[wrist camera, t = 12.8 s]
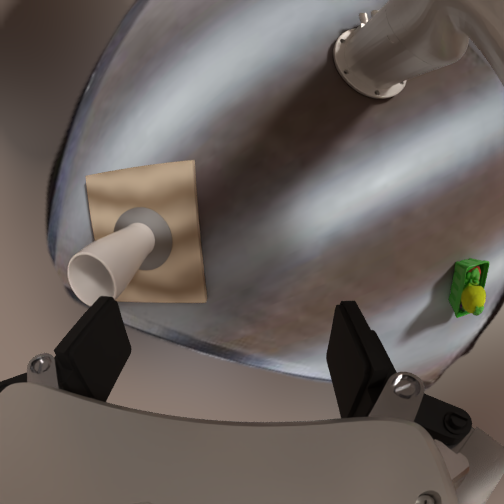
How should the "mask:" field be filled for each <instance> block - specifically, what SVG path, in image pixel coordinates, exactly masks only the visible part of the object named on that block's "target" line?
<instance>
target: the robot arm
mask: <svg viewBox="0 0 504 504" xmlns="http://www.w3.org/2000/svg"><path fill="white" fill-rule="evenodd" d="M371 17H372V18H371V19H370V20H368V15H367V14H366V13H360V14H359V18H360V21H361V24H360V25H359V26H358V28H354V29H350V30H347V31H346V32H344V33H342V34H341V36H340V37H339V38H338V39H337V41H336V42H335V45H334V48H333V58H334V62H335V66H336V68H337V70H338V72H339V74H340V75H341V76H342V78H343V79H344V80H345V81H346V83H347V84H348V85H349V86H351V87H352V88H353V89H354V90H356V91H357V92H359V93H361V94H363V95H365V96H368V97H371V98H375V99H385V98H390V97H393V96H395V95H397V94H398V93H400V92H401V91H402V89H403V88H404V86H405V84H406V81H407V80H408V79H411V78H413V77H416V76H418V75H421V74H424V73H426V72H429V71H432V70H435V69H438V68H440V67H443V66H446V65H449V64H452V63H454V62H456V61H458V60H459V59H460V58H461V57H462V56H463V54H464V53H465V51H466V49H467V46H468V42H469V38H470V39H471V40H472V41H473V43H474V44H475V45H476V46H477V48H478V49H479V50H481V52H482V54H483V55H484V56H485V58H486V59H487V61H488V62H489V64H490V65H491V67H492V68H493V70H494V71H495V73H496V74H497V76H498V78H499V79H500V81H501V83H502V84H503V86H504V0H389V1H388V2H387V3H386V4H385V5H384V6H383V7H382V8H381V9H380V10H379V11H378V10H373V11H371ZM341 42H342V43H341ZM344 72H345V73H346V74H345V73H344ZM375 93H376V94H375ZM54 352H55V354H56V356H55V357H53V356H52V355H51V354H48V353H43V354H39V355H37V356H35V357H33V358H32V359H31V360H30V362H29V364H28V367H27V373H24V374H21V375H18V376H15V377H13V378H10V379H7V380H4V381H2V382H0V504H485V502H486V501H487V499H488V498H489V496H490V495H491V493H492V491H493V490H494V488H495V486H496V485H497V483H498V482H499V480H500V478H501V476H502V474H503V473H504V446H502V445H501V444H500V443H498V442H497V441H496V440H494V439H493V438H492V437H490V436H489V435H487V434H486V433H485V432H484V431H482V430H481V429H480V428H478V427H476V428H475V429H474V428H473V427H472V421H471V418H470V416H469V414H468V413H467V412H466V411H464V410H463V409H461V408H458V407H455V406H453V405H451V404H448V403H445V402H443V401H441V400H438V399H436V398H434V397H431V396H429V395H426V394H424V390H425V387H424V383H423V382H422V380H421V379H420V378H419V377H418V376H416V375H414V374H412V373H409V372H398V373H397V372H396V370H395V368H394V366H393V364H392V362H391V360H390V358H389V357H388V355H387V353H386V351H385V349H384V347H383V345H382V343H381V341H380V339H379V337H378V336H377V334H376V332H375V331H374V330H371V329H370V327H369V326H368V324H367V322H366V320H365V318H364V316H363V314H362V313H361V311H360V309H359V307H358V305H357V303H356V302H355V301H341V303H340V305H336V308H335V313H334V319H333V324H332V330H331V335H330V340H329V345H328V349H327V355H326V359H327V364H328V368H329V371H330V375H331V379H332V383H333V387H334V391H335V395H336V398H337V403H338V407H339V411H340V415H341V419H328V420H316V421H299V422H298V421H297V422H232V421H217V420H205V419H195V418H186V417H178V416H171V415H165V414H159V413H153V412H147V411H142V410H137V409H132V408H128V407H123V406H118V405H115V404H110V403H107V402H106V400H107V398H108V396H109V394H110V392H111V390H112V388H113V386H114V384H115V382H116V380H117V379H118V377H119V375H120V373H121V371H122V369H123V367H124V365H125V363H126V361H127V359H128V357H129V356H130V354H131V345H130V342H129V339H128V336H127V333H126V330H125V327H124V323H123V320H122V317H121V313H120V310H119V306H118V303H117V301H116V300H114V298H113V297H110V296H100V297H99V298H98V299H97V300H96V301H95V302H94V303H93V305H92V306H91V307H90V308H89V309H88V310H87V311H86V312H85V314H84V315H83V316H82V317H81V318H80V319H79V321H78V322H77V323H76V324H75V325H74V326H73V328H72V329H71V330H70V331H69V332H68V333H67V335H66V336H65V337H64V338H63V340H62V341H61V342H60V343H59V345H58V346H57V347H56V348H55V349H54Z"/></svg>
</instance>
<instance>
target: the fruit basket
mask: <svg viewBox="0 0 504 504" xmlns="http://www.w3.org/2000/svg"><path fill="white" fill-rule="evenodd" d="M488 269H489V261H481V260H476V259H471V258H470V259H468V260H467V259H466V260H462V261H460V262H456V263H455V271H454V275H453V282H452V286H451V293H450V296H449V302H450V304H451V306H452V308H453V310H454V312H455V316H456V317H457V318H458V317H461V316H464V315H467V314H470V313H473V315H479V314H481V313H482V311H483V309H484V303H485V299H486V293H485V290H484V287H485V282H486V278H487V273H488Z"/></svg>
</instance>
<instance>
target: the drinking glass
mask: <svg viewBox="0 0 504 504" xmlns="http://www.w3.org/2000/svg"><path fill="white" fill-rule="evenodd" d="M154 245H155V237H154V234H153V232H152V230H151V229H150V228H149V227H148V226H147V225H145V224H143V223H132V224H130V225H129V226H127V227H125V228H123V229H121V230H118V231H116V232H114V233H111V234H109V235H107V236H105V237H102V238H100V239H98V240H96V241H94V242H92V243H91V244H89V245H87V246H86V247H84V248H83V249H82V250H80V251H79V252H78V253H77V254H75V255H74V256H73V257H72V258H71V260H70V262H69V264H68V270H67V273H68V280H69V283H70V286H71V288H72V290H73V291H74V293H75V294H76V296H77V297H78V298H79V299H80V300H81V301H82V302H84V303H85V304H87V305H88V306H92V305H93V303H94V302H95V301H96V300H97V299H98V298H99V297H100V296H110V297H113V298H114V300H116V299H117V298H118V297H119V296H120V294H121V293H122V292H123V291H124V290H125V288H126V287H127V286H128V285H129V283H130V282H131V280H132V279H133V277H134V275H135V274H136V272H137V271H138V269H139V268H140V266H141V265H142V263H143V262H144V260H145V259H146V258H147V256H148V255H149V254H150V253H151V252H152V250H153V248H154Z"/></svg>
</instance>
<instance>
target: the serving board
mask: <svg viewBox="0 0 504 504" xmlns="http://www.w3.org/2000/svg"><path fill="white" fill-rule="evenodd" d="M86 185H87V193H88V201H89V208H90V215H91V221H92V227H93V233H94V238H95V241H96V240H98V239H100V238H102V237H105V236H107V235H109V234H111V233H114V232H116V231H118V230H121V229H123V228H125V227H127V226H129V225H130V224H132V223H143V224H145V225H147V226H148V227H149V228H150V229H151V230H152V232H153V234H154V237H155V245H154V248H153V250H152V252H151V253H150V254H149V255H148V256H147V258H146V259H145V260H144V262H143V263H142V265H141V266H140V268H139V269H138V271H137V272H136V274H135V275H134V277H133V279H132V280H131V282H130V283H129V285H128V286H127V287H126V288H125V290H124V291H123V292H122V293H121V294H120V296H119V297H118V298H117V299H116V301H120V302H155V303H206V301H207V291H206V283H205V274H204V265H203V256H202V247H201V236H200V226H199V214H198V202H197V189H196V174H195V160H189V161H179V162H170V163H162V164H154V165H147V166H140V167H133V168H127V169H120V170H115V171H109V172H104V173H98V174H93V175H88V176H86Z"/></svg>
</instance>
